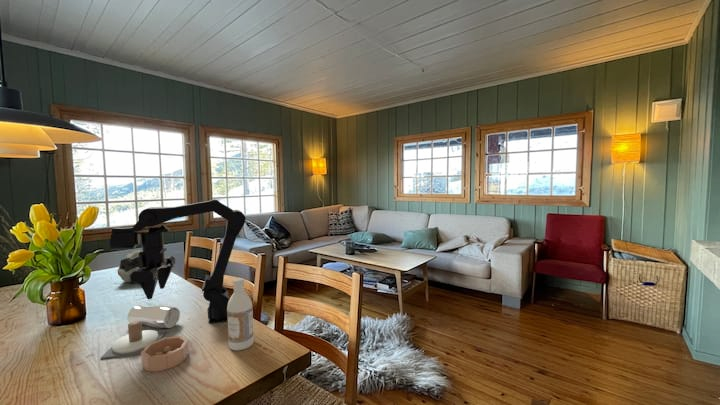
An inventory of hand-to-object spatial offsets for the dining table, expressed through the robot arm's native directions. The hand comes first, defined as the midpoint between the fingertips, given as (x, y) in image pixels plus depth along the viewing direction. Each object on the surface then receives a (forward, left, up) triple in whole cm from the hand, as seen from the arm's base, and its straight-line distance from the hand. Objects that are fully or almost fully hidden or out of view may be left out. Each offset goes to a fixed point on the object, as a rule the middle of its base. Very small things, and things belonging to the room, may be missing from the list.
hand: (156, 293), depth 97 cm
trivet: (+3, +8, -12) cm, 15 cm away
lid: (+3, +8, -12) cm, 15 cm away
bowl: (-9, +19, -12) cm, 24 cm away
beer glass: (+10, -8, -10) cm, 16 cm away
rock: (+32, -58, -13) cm, 68 cm away
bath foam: (-28, +16, -13) cm, 35 cm away
